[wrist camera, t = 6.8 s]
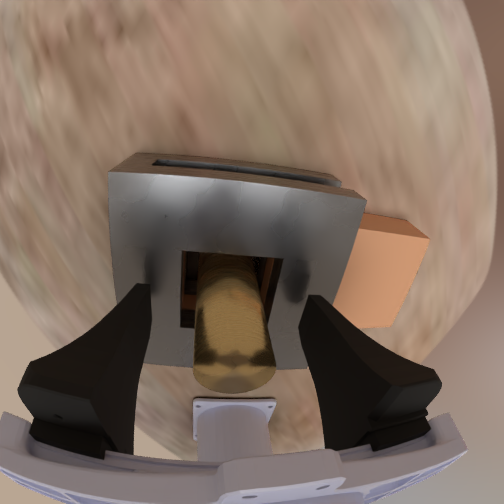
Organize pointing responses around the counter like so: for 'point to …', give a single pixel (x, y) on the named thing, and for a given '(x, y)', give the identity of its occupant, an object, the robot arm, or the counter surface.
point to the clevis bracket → (228, 239)
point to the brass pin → (230, 326)
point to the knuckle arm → (369, 272)
